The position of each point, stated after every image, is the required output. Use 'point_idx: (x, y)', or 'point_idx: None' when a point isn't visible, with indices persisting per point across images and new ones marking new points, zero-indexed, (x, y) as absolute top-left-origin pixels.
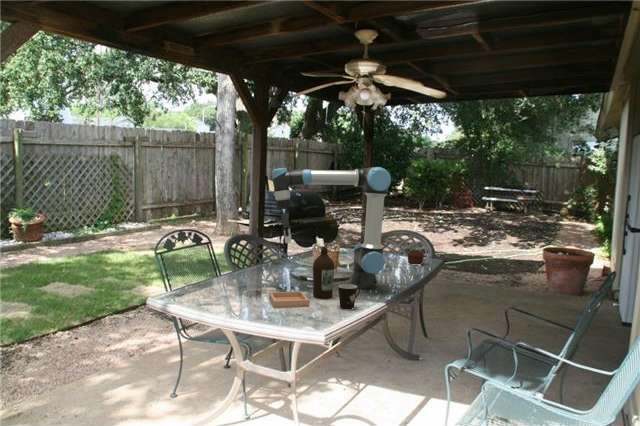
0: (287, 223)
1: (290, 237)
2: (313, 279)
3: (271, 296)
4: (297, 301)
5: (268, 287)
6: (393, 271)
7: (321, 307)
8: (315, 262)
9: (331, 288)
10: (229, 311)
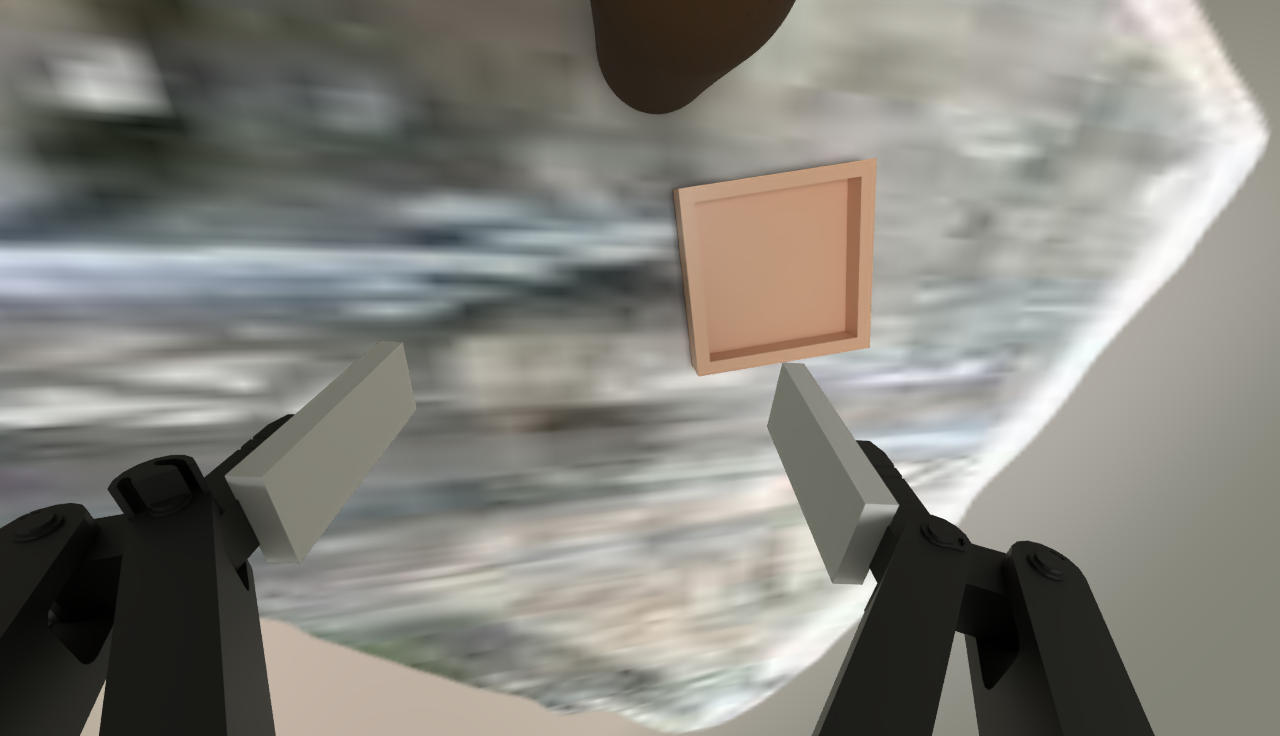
0: (1109, 658)
1: (379, 374)
2: (686, 93)
3: (778, 362)
4: (871, 228)
5: (459, 376)
6: None
7: (881, 87)
8: (746, 35)
9: None
10: None
